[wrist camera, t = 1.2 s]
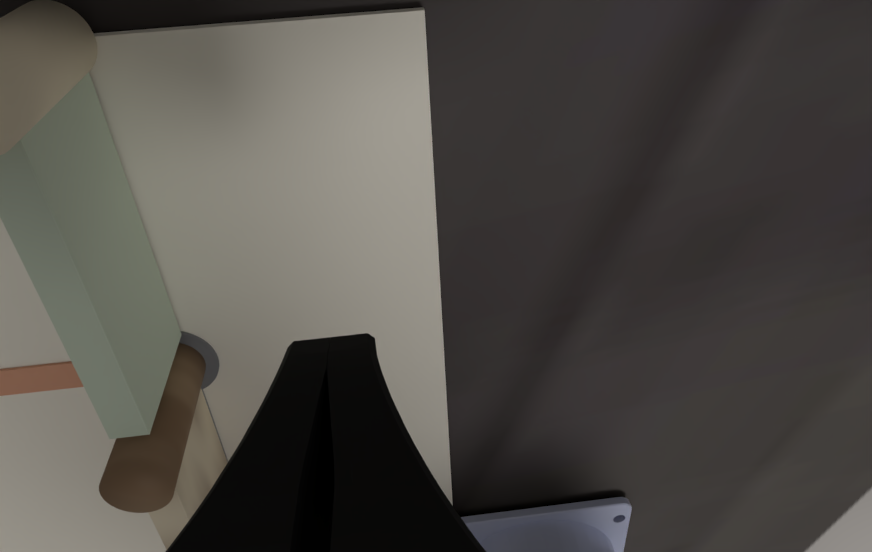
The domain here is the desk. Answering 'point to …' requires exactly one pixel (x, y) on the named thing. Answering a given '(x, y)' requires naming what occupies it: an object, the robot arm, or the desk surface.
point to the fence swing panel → (80, 218)
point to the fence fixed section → (169, 454)
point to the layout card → (243, 244)
